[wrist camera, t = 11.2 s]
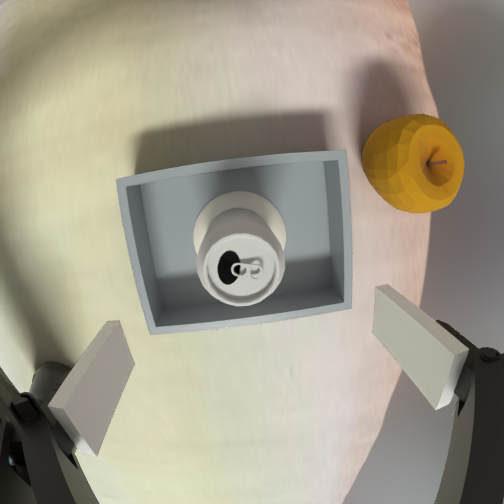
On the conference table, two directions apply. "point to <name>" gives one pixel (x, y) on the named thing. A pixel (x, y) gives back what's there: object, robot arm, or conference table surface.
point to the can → (240, 258)
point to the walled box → (249, 197)
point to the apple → (414, 163)
